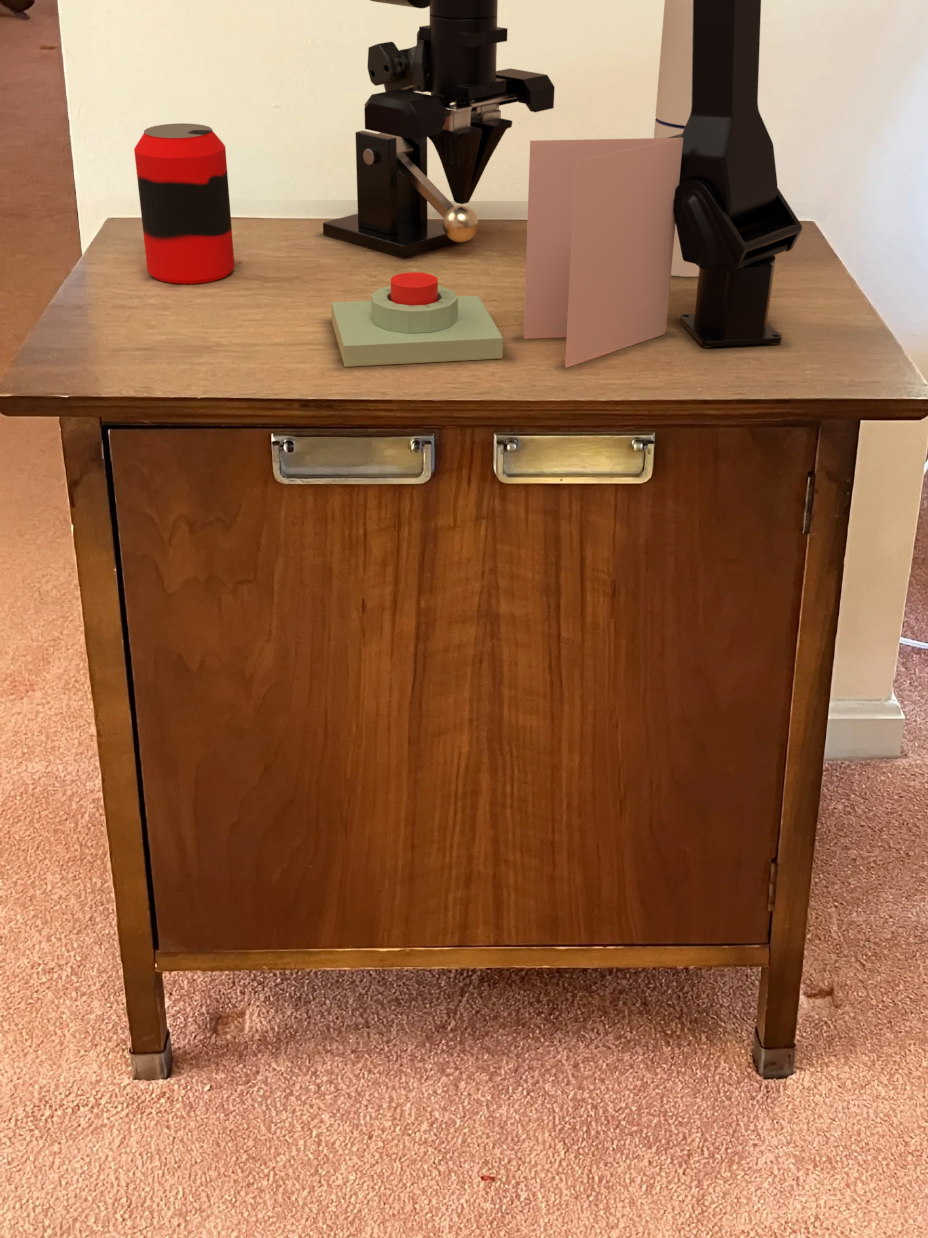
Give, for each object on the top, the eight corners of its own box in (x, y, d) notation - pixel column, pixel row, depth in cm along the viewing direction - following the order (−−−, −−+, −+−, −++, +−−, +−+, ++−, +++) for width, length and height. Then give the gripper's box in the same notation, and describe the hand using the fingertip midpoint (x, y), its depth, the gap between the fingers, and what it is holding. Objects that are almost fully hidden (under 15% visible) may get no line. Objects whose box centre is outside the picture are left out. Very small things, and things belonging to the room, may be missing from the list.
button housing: (502, 358, 103) (503, 314, 101) (344, 367, 101) (342, 321, 100) (478, 315, 112) (479, 273, 110) (331, 322, 110) (330, 279, 108)
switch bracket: (463, 241, 130) (465, 134, 125) (404, 258, 125) (403, 148, 120) (382, 219, 136) (380, 116, 131) (322, 235, 131) (318, 128, 126)
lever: (476, 245, 126) (490, 218, 123) (452, 252, 124) (466, 225, 121) (388, 153, 129) (400, 125, 126) (364, 158, 127) (375, 130, 124)
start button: (441, 308, 104) (441, 285, 103) (394, 310, 103) (393, 287, 102) (433, 293, 107) (433, 271, 106) (388, 295, 106) (387, 273, 105)
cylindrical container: (631, 269, 123) (655, -38, 110) (660, 248, 128) (685, -46, 115) (707, 281, 120) (740, -32, 107) (733, 260, 125) (767, -41, 112)
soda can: (215, 288, 117) (202, 143, 111) (133, 281, 118) (116, 137, 112) (247, 262, 123) (237, 124, 117) (169, 256, 125) (155, 118, 118)
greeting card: (662, 329, 109) (680, 135, 101) (687, 363, 103) (708, 158, 95) (521, 334, 108) (528, 138, 100) (538, 369, 102) (546, 161, 94)
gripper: (467, -5, 125) (465, 169, 133) (315, 15, 113) (323, 205, 121) (562, 7, 119) (553, 190, 127) (412, 30, 107) (413, 230, 115)
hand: (461, 202), depth 123 cm, fingers closed
